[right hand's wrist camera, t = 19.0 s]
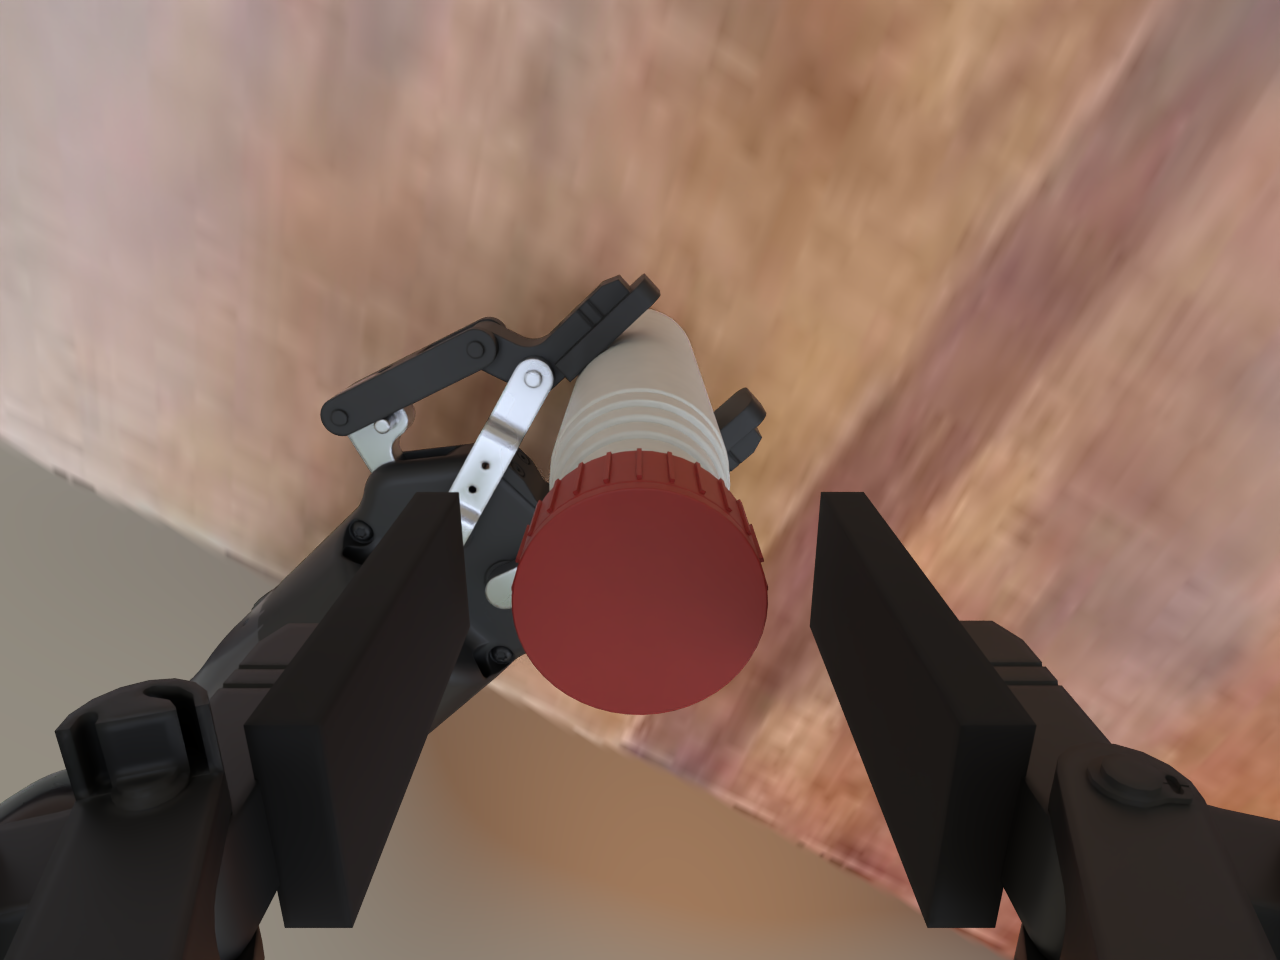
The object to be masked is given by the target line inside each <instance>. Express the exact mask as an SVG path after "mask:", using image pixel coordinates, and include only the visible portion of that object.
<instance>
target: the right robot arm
mask: <svg viewBox="0 0 1280 960" xmlns="http://www.w3.org/2000/svg"><path fill="white" fill-rule="evenodd" d="M469 628H470V619H469V607H468V595H467V583H466V571H465V559H464V547H463V535H462V523H461V511H460V499H459V492H416V493H415V495H414V496H413V497H412V499H411V500H410V501H409V503H408V504H407V505H406V507H405V508H404V509H403V511H402V512H401V514H400V515H399V516H398V518H397V519H396V520H395V522H394V523H393V524H392V526H391V527H390V528H389V530H388V531H387V532H386V534H385V535H384V536H383V538H382V539H381V540H380V542H379V543H378V544H377V546H376V547H375V549H374V550H373V551H372V553H371V554H370V555H369V557H368V558H367V559H366V561H365V562H364V563H363V565H362V566H361V567H360V569H359V570H358V571H357V573H356V574H355V575H354V577H353V578H352V579H351V581H350V582H349V584H348V585H347V586H346V588H345V589H344V590H343V592H342V593H341V594H340V596H339V597H338V598H337V600H336V601H335V602H334V604H333V605H332V606H331V608H330V609H329V610H328V612H327V613H326V614H325V616H324V617H323V619H322V620H321V621H320V623H288V624H286V625H285V626H283V627H282V628H280V629H278V630H277V631H275V632H274V633H272V634H270V635H269V636H267V637H266V638H264V639H262V640H261V641H259V642H258V643H257V644H256V645H255V646H254V647H253V649H252V650H251V651H250V652H249V653H248V655H247V656H246V657H245V658H244V659H243V660H242V662H241V663H240V664H239V668H238V669H235V670H234V671H233V672H232V673H231V675H230V676H229V677H228V678H227V679H226V680H225V682H224V683H223V688H219V689H218V690H217V691H216V692H215V693H214V695H213V696H212V697H211V698H210V699H209V697H208V693H207V690H205V689H204V688H203V687H201V686H200V685H199V684H197V683H196V682H192V681H187V680H181V679H176V678H173V679H159V680H148V681H144V682H140V683H136V684H132V685H128V686H124V687H120V688H118V689H115V690H113V691H111V692H108V693H106V694H104V695H101V696H99V697H97V698H94V699H92V700H91V701H89V702H88V703H86V704H85V705H83V706H81V707H80V708H78V709H77V710H75V711H74V712H72V713H71V714H69V715H68V716H67V718H66V719H65V720H64V721H63V722H62V723H61V724H60V726H59V727H58V728H57V729H56V730H55V734H56V737H57V741H58V744H59V747H60V750H61V754H62V757H63V760H64V764H65V767H66V770H67V774H68V777H69V780H70V784H71V787H72V790H73V793H74V797H75V800H76V801H75V803H74V805H73V808H72V809H68V810H65V811H61V812H56V813H52V814H47V815H42V816H38V817H33V818H28V819H24V820H19V821H14V822H10V823H5V824H0V960H264V958H265V957H264V950H263V944H262V938H261V933H260V929H259V924H260V922H261V920H262V918H263V916H264V914H265V912H266V910H267V908H268V907H269V905H270V903H271V901H272V899H273V897H274V895H275V893H276V891H277V892H278V897H279V901H280V906H281V911H282V916H283V921H284V926H285V928H352V927H353V925H354V923H355V920H356V917H357V915H358V912H359V910H360V907H361V905H362V902H363V899H364V897H365V894H366V892H367V889H368V887H369V884H370V882H371V879H372V876H373V874H374V871H375V869H376V866H377V863H378V861H379V858H380V856H381V853H382V851H383V848H384V846H385V843H386V841H387V838H388V835H389V833H390V830H391V828H392V825H393V823H394V820H395V817H396V815H397V812H398V810H399V807H400V805H401V802H402V800H403V797H404V794H405V792H406V789H407V787H408V784H409V782H410V779H411V776H412V774H413V771H414V769H415V766H416V764H417V761H418V759H419V756H420V753H421V751H422V748H423V746H424V743H425V740H426V738H427V735H428V733H429V730H430V728H431V725H432V723H433V720H434V718H435V715H436V712H437V710H438V707H439V705H440V702H441V700H442V697H443V694H444V692H445V689H446V687H447V684H448V682H449V679H450V677H451V674H452V671H453V669H454V666H455V664H456V661H457V659H458V656H459V653H460V651H461V648H462V646H463V643H464V641H465V638H466V636H467V633H468V630H469ZM810 628H811V630H812V633H813V636H814V638H815V641H816V643H817V646H818V648H819V651H820V654H821V656H822V659H823V661H824V664H825V666H826V669H827V671H828V674H829V677H830V679H831V682H832V684H833V687H834V689H835V692H836V694H837V697H838V700H839V702H840V705H841V707H842V710H843V712H844V715H845V718H846V720H847V723H848V725H849V728H850V730H851V733H852V735H853V738H854V741H855V743H856V746H857V748H858V751H859V753H860V756H861V759H862V761H863V764H864V766H865V769H866V771H867V774H868V776H869V779H870V782H871V784H872V787H873V789H874V792H875V794H876V797H877V800H878V802H879V805H880V807H881V810H882V812H883V815H884V817H885V820H886V823H887V825H888V828H889V830H890V833H891V835H892V838H893V841H894V843H895V846H896V848H897V851H898V853H899V856H900V858H901V861H902V864H903V866H904V869H905V871H906V874H907V876H908V879H909V882H910V884H911V887H912V889H913V892H914V894H915V897H916V899H917V902H918V905H919V907H920V910H921V912H922V915H923V917H924V920H925V923H926V925H927V927H928V928H995V926H996V921H997V916H998V911H999V906H1000V901H1001V897H1002V892H1003V887H1004V889H1005V891H1006V893H1007V895H1008V897H1009V899H1010V901H1011V902H1012V904H1013V906H1014V908H1015V910H1016V912H1017V914H1018V916H1019V918H1020V920H1021V922H1022V924H1021V929H1020V933H1019V938H1018V943H1017V947H1016V952H1015V956H1014V960H1280V821H1278V820H1273V819H1268V818H1264V817H1259V816H1254V815H1249V814H1245V813H1240V812H1235V811H1231V810H1226V809H1221V808H1218V807H1214V806H1210V805H1207V804H1206V802H1205V800H1204V798H1203V797H1202V796H1201V794H1200V793H1199V792H1198V790H1197V789H1196V787H1195V786H1194V785H1193V783H1192V782H1191V781H1190V780H1188V779H1187V778H1186V777H1184V776H1183V775H1182V774H1180V773H1179V772H1178V771H1177V770H1175V769H1174V768H1173V767H1171V766H1170V765H1168V764H1166V763H1164V762H1162V761H1160V760H1158V759H1156V758H1154V757H1152V756H1150V755H1148V754H1146V753H1144V752H1141V751H1137V750H1134V749H1130V748H1127V747H1123V746H1120V745H1116V744H1111V743H1110V742H1109V740H1108V739H1107V738H1106V737H1105V736H1104V734H1103V733H1102V732H1101V731H1100V730H1099V729H1098V727H1097V726H1096V725H1095V724H1094V723H1093V722H1092V720H1091V719H1090V718H1089V717H1088V716H1087V715H1086V713H1085V712H1084V711H1083V710H1082V709H1081V708H1080V706H1079V705H1078V704H1077V703H1076V702H1075V700H1074V699H1073V698H1072V697H1071V696H1070V695H1069V693H1068V692H1067V691H1066V690H1065V689H1064V688H1063V686H1058V681H1057V679H1056V678H1055V677H1054V676H1053V675H1052V674H1051V672H1050V671H1049V670H1048V669H1047V668H1046V667H1042V662H1041V661H1040V659H1039V658H1038V657H1037V656H1036V655H1035V654H1034V652H1033V651H1032V650H1031V649H1030V648H1029V647H1028V645H1027V644H1026V643H1025V642H1024V641H1023V640H1022V639H1021V638H1019V637H1017V636H1016V635H1014V634H1013V633H1011V632H1009V631H1008V630H1006V629H1005V628H1003V627H1001V626H1000V625H998V624H996V623H995V622H993V621H959V620H958V619H957V617H956V616H955V614H954V613H953V612H952V610H951V609H950V608H949V606H948V605H947V604H946V602H945V601H944V600H943V598H942V597H941V596H940V594H939V593H938V592H937V590H936V589H935V588H934V586H933V585H932V584H931V582H930V581H929V579H928V578H927V577H926V575H925V574H924V573H923V571H922V570H921V569H920V567H919V566H918V565H917V563H916V562H915V561H914V559H913V558H912V557H911V555H910V554H909V553H908V551H907V550H906V549H905V547H904V546H903V544H902V543H901V542H900V540H899V539H898V538H897V536H896V535H895V534H894V532H893V531H892V530H891V528H890V527H889V526H888V524H887V523H886V522H885V520H884V519H883V518H882V516H881V515H880V514H879V512H878V511H877V509H876V508H875V507H874V505H873V504H872V503H871V501H870V500H869V499H868V497H867V496H866V495H865V493H864V492H821V499H820V511H819V523H818V535H817V547H816V559H815V571H814V583H813V595H812V607H811V619H810Z"/></svg>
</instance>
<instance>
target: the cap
mask: <svg viewBox="0 0 1280 960" xmlns="http://www.w3.org/2000/svg"><path fill="white" fill-rule="evenodd" d="M515 562H516V563H518V566H517V570H516V573H515V577H514V580H513V583H512V586H511V591H512V614H513V620H514V625H515V629H516V632H517V635H518V638H519V640H520V642H521V644H522V647H523V649H524V651H525V653H526V654H527V656H528V657H529V659H530V660H531V662H532V663H533V665H534V666H535V667H536V668H537V669H538V671H539V672H540V673H541V674H542V675H543V676H544V677H545V678H546V679H547V680H548V681H549V682H550V683H552V684H553V685H554V686H555V687H556V688H558V689H559V690H561V691H562V692H564V693H565V694H567V695H568V696H570V697H572V698H574V699H576V700H578V701H580V702H581V703H584V704H587V705H589V706H592V707H594V708H598V709H601V710H605V711H609V712H614V713H621V714H632V715H647V714H659V713H665V712H670V711H675V710H678V709H681V708H685V707H688V706H690V705H693V704H695V703H697V702H700V701H702V700H704V699H706V698H707V697H709V696H711V695H712V694H714V693H716V692H717V691H719V690H720V689H721V688H723V687H724V686H725V685H727V684H728V683H729V682H730V681H731V680H732V679H733V678H734V677H735V676H736V675H737V674H738V673H739V672H740V671H741V670H742V669H743V667H744V666H745V665H746V664H747V662H748V661H749V659H750V658H751V656H752V654H753V653H754V651H755V649H756V648H757V645H758V643H759V641H760V638H761V636H762V633H763V630H764V626H765V622H766V617H767V608H768V595H767V590H768V585H767V582H766V579H765V575H764V572H763V569H762V565H761V562H764V559H763V556H762V553H761V550H760V547H759V544H758V541H757V538H756V535H755V532H754V529H753V526H752V524H750V525H749V523H748V520H747V517H746V514H745V511H744V508H743V505H742V502H741V501H740V499H739V500H736V499H735V498H734V496H733V495H732V493H731V492H730V491H729V490H728V489H727V488H726V487H725V483H724V480H723V479H721V478H720V479H719V480H718V479H717V478H716V477H715V476H713V475H712V474H711V473H710V472H708V471H707V470H705V469H703V468H702V467H701V466H700V463H698V462H695V463H693V462H690V461H688V460H686V459H684V458H681V457H677V456H674V455H672V452H669V451H667V453H661V452H655V451H642V448H637V450H636V451H624V452H618V453H613V454H612V453H611V452H607V454H606V455H605V456H602V457H599V458H596V459H593V460H591V461H589V462H587V463H585V464H584V463H583V462H581V463H579V465H578V467H577V468H576V469H574V470H573V471H571V472H570V473H568V474H567V475H566V476H564V477H563V478H562V479H561V480H559V479H557V480H556V481H555V483H554V486H553V488H552V489H551V490H550V491H549V493H548V494H547V495H546V496H545V498H544V499H543V501H541V500H539V501H538V503H537V505H536V508H535V511H534V515H533V518H532V521H531V524H530V525H527V527H526V530H525V533H524V536H523V539H522V542H521V545H520V548H519V551H518V554H517V557H516V560H515Z"/></svg>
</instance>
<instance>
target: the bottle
mask: <svg viewBox="0 0 1280 960" xmlns="http://www.w3.org/2000/svg"><path fill="white" fill-rule="evenodd" d="M637 448H642V451H655V452H661V453H667V451H669V452H672V455H674V456H677V457H681V458H684V459H686V460H688V461H690V462H693V463H695V462H698V463H700V466H701V467H702V468H703V469H705V470H707V471H708V472H710V473H711V474H712V475H713V476H715V477H716V478H717V479H718V480H719V479H720V478H721V479H723V480H724V483H725V487H726V488H727V489H728V490H729V491H730V474H729V461H728V456H727V451H726V448H725V445H724V442H723V439H722V436H721V433H720V430H719V427H718V424H717V421H716V418H715V415H714V412H713V409H712V406H711V403H710V400H709V397H708V394H707V391H706V388H705V385H704V382H703V379H702V376H701V373H700V370H699V367H698V364H697V361H696V358H695V355H694V352H693V349H692V346H691V344H690V341H689V339H688V337H687V335H686V333H685V332H684V330H683V329H682V328H681V327H680V326H679V324H678V323H677V322H675V321H674V320H673V319H672V318H670V317H669V316H667V315H665V314H663V313H661V312H659V311H655V310H652V309H647V310H646V311H645V312H644V313H643V314H642V315H641V316H640V317H639V318H638V319H637V320H636V321H635V322H634V323H633V324H632V325H630V326H629V327H628V328H627V329H626V330H625V331H624V332H623V333H622V334H621V335H620V336H619V337H618V338H617V339H616V340H614V341H613V342H612V343H611V344H610V345H609V346H608V347H607V348H606V349H605V350H604V351H603V352H602V353H601V354H600V355H599V356H597V357H596V358H595V359H594V360H593V361H591V362H590V363H589V364H588V365H587V367H586V368H585V369H584V370H583V371H581V372H580V373H579V374H578V377H577V380H576V383H575V386H574V389H573V392H572V395H571V398H570V401H569V404H568V407H567V410H566V413H565V416H564V419H563V422H562V425H561V428H560V431H559V434H558V437H557V440H556V443H555V446H554V449H553V453H552V457H551V465H550V477H549V491H550V490H551V489H552V488H553V486H554V483H555V481H556V480H557V479H559V480H561V479H562V478H563V477H564V476H566V475H567V474H568V473H570V472H571V471H573V470H574V469H576V468H577V467H578V465H579V463H581V462H583V463H584V464H585V463H587V462H589V461H591V460H593V459H596V458H599V457H602V456H605V455H606V454H607V452H611V453H612V454H613V453H618V452H624V451H636V450H637Z"/></svg>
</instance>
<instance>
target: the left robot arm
mask: <svg viewBox="0 0 1280 960" xmlns="http://www.w3.org/2000/svg"><path fill="white" fill-rule="evenodd" d="M659 297H660V290H659V289H658V288H657V287H656V286H655V285H654V283H653V282H652V281H651V280H650V279H649V278H648V277H647V276H646V275H645V274H643V275H641V276H640V277H639V278H638V279H637V280H636V281H635V282H634V283H633V284H631V285H630V286H629V285H628V284H627V282H626V281H625V280H624V279H623V278H622V277H621V276H620V275H617V276H615V277H612V278H610V279H607V280H605V281H603V282H602V283H601V284H600V285H599V286H598V287H597V288H596V289H595V290H594V291H593V292H592V293H591V294H590V295H588V296H587V297H586V298H585V299H584V300H583V301H582V302H581V303H580V304H579V305H578V306H577V307H576V308H575V309H574V310H573V311H572V312H571V313H570V314H569V315H568V316H567V317H566V318H565V319H564V320H563V321H562V322H561V323H560V324H559V325H557V326H556V327H555V328H554V329H553V330H552V331H551V332H550V333H549V334H548V335H546V336H544V337H542V338H538V339H530V338H526V337H523V336H521V335H519V334H517V333H515V332H513V331H511V330H509V329H507V328H506V326H505V325H504V324H503V322H501V321H500V320H498V319H496V318H494V317H485V318H482V319H480V320H478V321H476V322H474V323H472V324H470V325H468V326H466V327H464V328H462V329H460V330H458V331H456V332H454V333H452V334H450V335H448V336H446V337H444V338H442V339H440V340H438V341H436V342H434V343H432V344H430V345H428V346H426V347H424V348H422V349H420V350H418V351H416V352H414V353H412V354H410V355H408V356H406V357H404V358H402V359H401V360H399V361H397V362H395V363H393V364H391V365H389V366H387V367H385V368H383V369H381V370H379V371H377V372H375V373H373V374H371V375H369V376H367V377H365V378H363V379H361V380H359V381H357V382H355V383H354V384H352V385H351V386H349V387H348V388H346V389H344V390H343V391H342V392H340V393H339V394H337V395H336V396H334V397H333V398H331V399H330V400H328V401H327V402H326V403H325V404H324V405H323V407H322V409H321V421H322V423H323V425H324V426H325V428H326V429H327V430H328V431H330V432H331V433H333V434H335V435H338V436H348V437H349V439H350V440H351V442H352V443H353V445H354V447H355V448H356V450H357V451H358V453H359V454H360V456H361V458H362V459H363V461H364V462H365V464H366V465H367V467H368V469H369V470H370V472H371V475H370V476H369V478H368V480H367V482H366V485H365V489H364V494H363V498H362V501H361V503H360V505H359V507H358V508H357V509H356V510H355V511H354V512H353V513H352V514H351V515H350V516H349V517H348V518H347V519H345V520H344V521H343V522H342V523H341V524H340V525H339V526H338V527H337V528H336V529H335V530H334V531H333V532H332V533H331V534H330V535H329V536H328V537H327V538H326V539H325V540H324V541H323V542H322V543H321V544H320V545H319V546H318V547H317V548H316V549H315V550H314V551H313V552H312V553H310V554H309V555H308V556H307V557H306V558H305V559H304V560H303V561H302V562H301V563H300V564H299V565H298V566H297V567H296V568H295V569H294V570H293V571H292V572H291V573H290V574H289V575H288V576H287V577H286V578H285V579H284V580H283V581H282V582H281V583H280V584H279V585H278V586H277V587H275V588H274V589H273V590H271V591H270V592H268V593H267V594H265V595H264V596H263V597H261V598H260V599H259V600H258V601H257V602H256V603H255V604H254V607H253V608H252V611H251V612H250V613H249V614H248V615H247V616H246V617H245V618H244V619H243V620H242V621H241V622H240V623H238V624H237V625H236V626H235V627H234V628H233V629H232V630H231V632H230V633H229V634H228V635H227V636H226V637H225V638H224V639H223V640H222V642H221V643H220V644H219V645H218V646H217V648H216V649H215V650H214V652H213V653H212V654H211V656H210V657H209V659H208V660H207V661H206V663H205V664H204V666H203V667H202V668H201V669H200V671H199V672H198V673H197V674H196V675H195V676H194V677H193V678H192V679H191V680H190V681H192V682H196V683H197V684H199V685H200V686H201V687H203V688H204V689H205V690H207V693H208V697H209V699H210V698H211V697H212V696H213V695H214V693H215V692H216V691H217V690H218V689H219V688H223V683H224V682H225V680H226V679H227V678H228V677H229V676H230V675H231V673H232V672H233V671H234V670H235V669H238V668H239V664H240V663H241V662H242V660H243V659H244V658H245V657H246V656H247V655H248V653H249V652H250V651H251V650H252V649H253V647H254V646H255V645H256V644H257V643H258V642H259V641H261V640H262V639H264V638H266V637H267V636H269V635H270V634H272V633H274V632H275V631H277V630H278V629H280V628H282V627H283V626H285V625H286V624H288V623H320V621H321V620H322V619H323V617H324V616H325V614H326V613H327V612H328V610H329V609H330V608H331V606H332V605H333V604H334V602H335V601H336V600H337V598H338V597H339V596H340V594H341V593H342V592H343V590H344V589H345V588H346V586H347V585H348V584H349V582H350V581H351V579H352V578H353V577H354V575H355V574H356V573H357V571H358V570H359V569H360V567H361V566H362V565H363V563H364V562H365V561H366V559H367V558H368V557H369V555H370V554H371V553H372V551H373V550H374V549H375V547H376V546H377V544H378V543H379V542H380V540H381V539H382V538H383V536H384V535H385V534H386V532H387V531H388V530H389V528H390V527H391V526H392V524H393V523H394V522H395V520H396V519H397V518H398V516H399V515H400V514H401V512H402V511H403V509H404V508H405V507H406V505H407V504H408V503H409V501H410V500H411V499H412V497H413V496H414V495H415V493H416V492H459V499H460V511H461V523H462V535H463V547H464V559H465V571H466V583H467V595H468V607H469V619H470V628H469V630H468V633H467V636H466V638H465V641H464V643H463V646H462V648H461V651H460V653H459V656H458V659H457V661H456V664H455V666H454V669H453V671H452V674H451V677H450V679H449V682H448V684H447V687H446V689H445V692H444V694H443V697H442V700H441V702H440V705H439V707H438V710H437V712H436V715H435V718H434V720H433V723H432V725H431V728H430V730H429V733H430V732H432V731H433V730H434V729H435V728H436V727H437V726H439V725H440V724H441V723H442V722H443V721H445V720H446V719H447V718H448V717H449V716H451V715H452V714H453V713H454V712H455V711H457V710H458V709H459V708H460V707H461V706H462V705H464V704H465V703H466V702H467V701H468V700H470V699H471V698H472V697H473V696H474V695H476V694H477V693H478V692H479V691H480V690H481V689H483V688H484V687H485V686H486V685H487V684H489V683H490V682H491V681H492V680H493V679H495V678H496V677H497V676H498V675H499V674H500V673H501V672H502V671H503V670H505V669H506V668H507V667H508V666H509V665H510V664H511V663H512V662H513V661H514V660H515V659H517V658H518V657H520V656H521V655H523V654H526V653H525V651H524V649H523V647H522V644H521V642H520V640H519V638H518V635H517V632H516V629H515V625H514V620H513V614H512V591H511V586H512V583H513V580H514V577H515V573H516V570H517V566H518V563H516V562H515V560H516V557H517V554H518V551H519V548H520V545H521V542H522V539H523V536H524V533H525V530H526V527H527V525H530V524H531V521H532V518H533V515H534V511H535V508H536V505H537V503H538V501H539V500H541V501H543V499H544V498H545V496H546V495H547V494H548V493H549V483H547V482H546V481H545V480H544V479H543V478H542V476H541V474H540V473H539V471H538V469H537V468H536V466H535V465H534V463H533V461H532V460H531V459H530V458H529V457H528V456H527V455H526V454H525V453H524V452H523V451H522V450H521V449H520V448H519V446H520V444H521V442H522V440H523V438H524V436H525V434H526V432H527V431H528V429H529V427H530V425H531V423H532V422H533V420H534V418H535V416H536V415H537V413H538V411H539V409H540V407H541V406H542V404H543V402H544V400H545V398H546V397H547V395H548V393H549V391H551V390H552V389H553V388H554V387H555V386H556V385H557V384H558V383H559V382H560V381H561V380H562V379H563V378H564V377H566V378H567V379H568V380H569V381H570V382H571V381H572V380H573V379H574V378H575V377H576V376H577V375H578V374H579V373H580V372H581V371H583V370H584V369H585V368H586V367H587V365H588V364H589V363H590V362H591V361H593V360H594V359H595V358H596V357H597V356H599V355H600V354H601V353H602V352H603V351H604V350H605V349H606V348H607V347H608V346H609V345H610V344H611V343H612V342H613V341H614V340H616V339H617V338H618V337H619V336H620V335H621V334H622V333H623V332H624V331H625V330H626V329H627V328H628V327H629V326H630V325H632V324H633V323H634V322H635V321H636V320H637V319H638V318H639V317H640V316H641V315H642V314H643V313H644V312H645V311H646V310H647V309H649V308H650V307H651V306H652V305H653V304H654V303H655V301H656V300H657V299H658V298H659ZM480 370H483V371H485V372H487V373H489V374H491V375H493V376H495V377H497V378H499V379H501V380H503V381H505V382H507V383H508V384H507V385H506V387H505V389H504V391H503V393H502V395H501V397H500V398H499V400H498V402H497V404H496V406H495V408H494V410H493V411H492V413H491V415H490V417H489V419H488V420H487V422H486V424H485V425H484V427H483V429H482V431H481V433H480V435H479V436H478V438H477V440H476V442H475V443H473V444H465V445H456V446H448V447H439V448H431V449H422V450H414V451H405V452H402V450H401V447H400V437H401V435H402V434H403V433H404V432H405V431H406V430H407V429H408V428H409V427H410V426H411V425H412V423H413V422H414V420H415V409H414V406H413V403H415V402H417V401H419V400H421V399H423V398H425V397H427V396H429V395H431V394H433V393H435V392H437V391H439V390H441V389H443V388H445V387H447V386H449V385H452V384H454V383H456V382H458V381H460V380H462V379H464V378H466V377H468V376H470V375H472V374H474V373H476V372H478V371H480ZM714 415H715V418H716V421H717V424H718V427H719V430H720V433H721V436H722V439H723V442H724V445H725V448H726V451H727V456H728V461H729V472H730V471H732V470H733V469H735V468H736V467H737V466H738V465H739V464H740V463H742V462H743V461H744V460H745V459H746V458H748V457H749V456H750V455H751V454H752V453H754V451H755V449H756V447H757V446H758V444H759V442H760V440H761V438H762V437H761V435H760V433H759V430H758V428H757V426H758V425H759V424H760V423H761V422H762V421H763V420H764V418H765V416H766V412H765V410H764V408H763V407H762V405H761V403H760V402H759V401H758V400H757V399H756V398H755V396H754V395H753V394H752V393H751V392H750V391H749V390H748V389H747V388H743V389H741V390H739V391H738V392H736V393H735V394H734V395H733V396H732V397H730V398H729V399H728V400H727V401H726V402H725V403H723V404H722V405H721V406H720V407H719V408H718V409H717V410H715V411H714ZM429 733H428V734H429ZM75 801H76V800H75V797H74V793H73V790H72V787H71V784H70V780H69V777H68V774H67V770H66V769H65V770H62V771H59V772H56V773H53V774H50V775H48V776H46V777H44V778H41V779H39V780H38V781H36V782H34V783H32V784H30V785H29V786H27V787H25V788H24V789H22V790H21V791H19V792H17V793H16V794H14V795H13V796H11V797H9V798H8V799H6V800H5V801H3V802H2V803H1V804H0V824H5V823H10V822H14V821H19V820H24V819H28V818H33V817H38V816H42V815H47V814H52V813H56V812H61V811H65V810H68V809H72V808H73V805H74V803H75Z"/></svg>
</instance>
